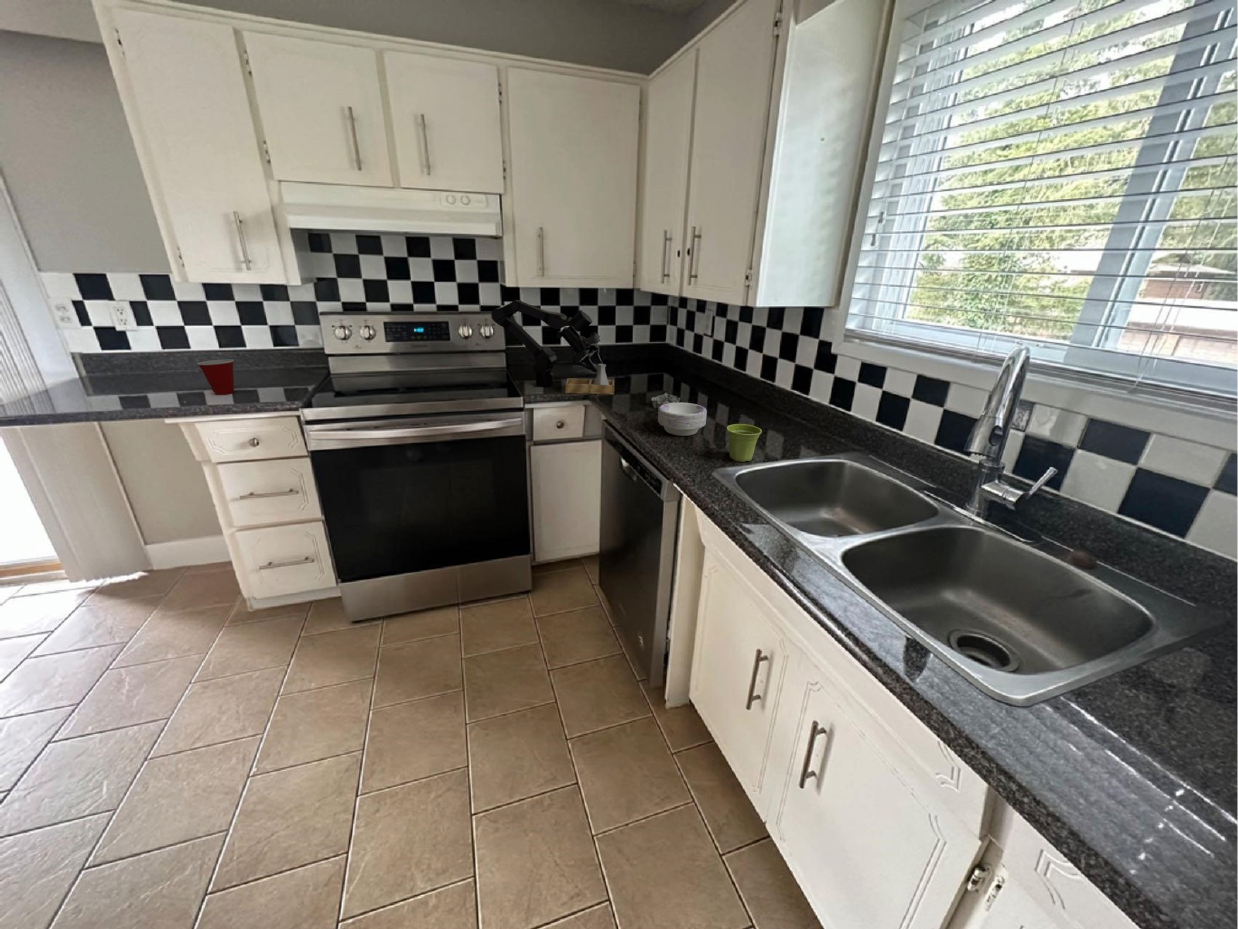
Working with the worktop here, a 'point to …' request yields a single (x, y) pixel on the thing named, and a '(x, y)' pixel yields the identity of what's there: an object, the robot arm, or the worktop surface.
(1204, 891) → the worktop surface
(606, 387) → the wooden divided tray
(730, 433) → the plant pot
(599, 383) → the flask
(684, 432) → the paper bowls
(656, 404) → the egg carton
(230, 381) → the plastic cup
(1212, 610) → the worktop surface
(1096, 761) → the worktop surface
